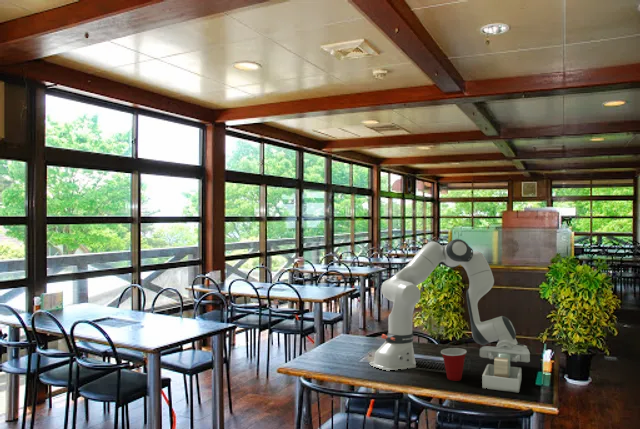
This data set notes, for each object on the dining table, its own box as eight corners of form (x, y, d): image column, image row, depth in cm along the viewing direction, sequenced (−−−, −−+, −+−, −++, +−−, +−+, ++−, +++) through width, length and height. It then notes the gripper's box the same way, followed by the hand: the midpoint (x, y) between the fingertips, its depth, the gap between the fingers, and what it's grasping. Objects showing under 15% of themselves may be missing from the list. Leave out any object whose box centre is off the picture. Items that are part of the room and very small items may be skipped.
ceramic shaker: (505, 381, 206) (505, 356, 207) (494, 377, 211) (495, 353, 211) (512, 378, 209) (512, 354, 209) (502, 375, 213) (502, 352, 213)
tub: (518, 392, 195) (518, 379, 195) (482, 388, 201) (482, 375, 201) (521, 379, 211) (521, 367, 211) (487, 375, 217) (487, 363, 217)
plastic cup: (438, 374, 219) (438, 347, 219) (463, 374, 218) (463, 347, 218) (443, 382, 208) (443, 353, 208) (469, 382, 207) (469, 353, 208)
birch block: (507, 386, 199) (507, 361, 199) (494, 385, 201) (494, 360, 202) (508, 383, 204) (508, 358, 204) (495, 381, 206) (495, 357, 206)
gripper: (481, 341, 226) (477, 348, 214) (530, 345, 217) (529, 353, 205) (481, 355, 226) (477, 363, 214) (530, 360, 217) (529, 369, 205)
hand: (503, 358), depth 209 cm, fingers open, 8 cm apart
